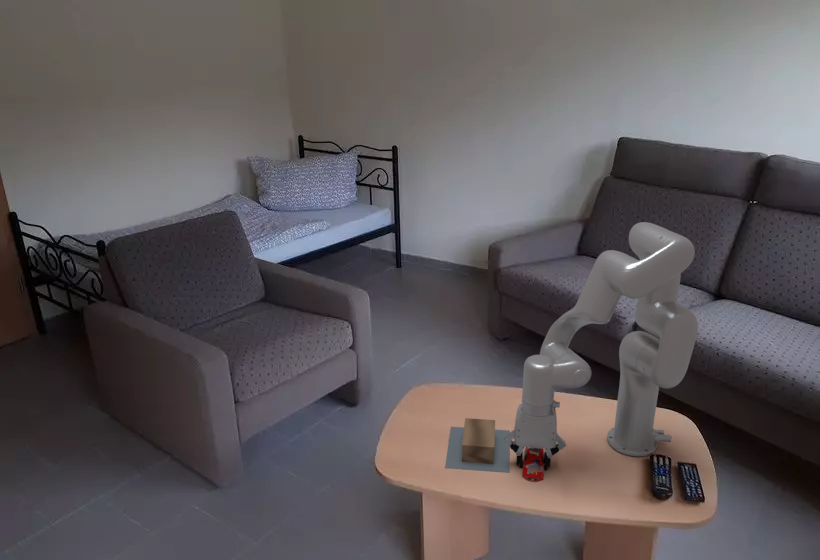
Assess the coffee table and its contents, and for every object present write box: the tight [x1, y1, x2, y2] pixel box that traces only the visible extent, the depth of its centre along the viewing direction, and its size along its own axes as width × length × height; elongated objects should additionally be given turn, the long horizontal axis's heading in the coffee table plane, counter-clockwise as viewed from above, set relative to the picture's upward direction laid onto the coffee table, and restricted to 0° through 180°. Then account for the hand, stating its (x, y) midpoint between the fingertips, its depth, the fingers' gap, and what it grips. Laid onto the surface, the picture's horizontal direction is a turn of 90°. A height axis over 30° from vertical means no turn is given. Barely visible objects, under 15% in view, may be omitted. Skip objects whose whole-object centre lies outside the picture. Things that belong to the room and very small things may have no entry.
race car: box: [521, 447, 545, 483], centre depth 167 cm, size 13×5×4 cm, turn 166°
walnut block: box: [462, 417, 496, 464], centre depth 173 cm, size 8×12×5 cm, turn 172°
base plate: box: [444, 426, 511, 474], centre depth 174 cm, size 16×18×1 cm
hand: (532, 466), depth 168 cm, fingers closed on race car, 5 cm apart
